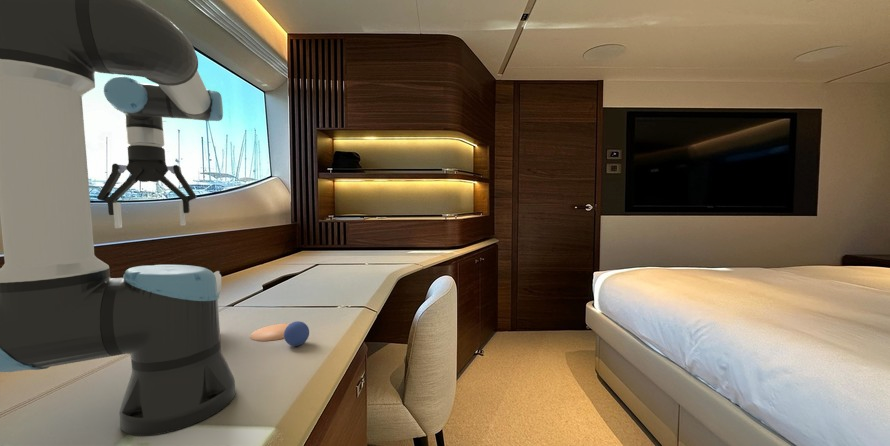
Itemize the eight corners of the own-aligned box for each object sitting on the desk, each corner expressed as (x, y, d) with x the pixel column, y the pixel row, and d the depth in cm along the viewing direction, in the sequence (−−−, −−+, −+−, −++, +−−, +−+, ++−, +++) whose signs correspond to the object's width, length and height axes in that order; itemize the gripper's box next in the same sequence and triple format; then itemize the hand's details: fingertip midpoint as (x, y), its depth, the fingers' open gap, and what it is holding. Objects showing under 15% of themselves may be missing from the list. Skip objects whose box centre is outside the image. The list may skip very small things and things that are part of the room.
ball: (311, 346, 82) (310, 323, 81) (285, 351, 79) (283, 327, 79) (308, 338, 86) (307, 316, 86) (283, 343, 84) (282, 320, 84)
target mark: (303, 335, 89) (303, 334, 89) (249, 344, 84) (249, 343, 84) (299, 321, 100) (299, 320, 100) (251, 329, 94) (251, 328, 94)
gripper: (205, 150, 102) (209, 223, 103) (88, 146, 91) (95, 228, 92) (201, 146, 95) (205, 224, 96) (75, 141, 84) (82, 230, 85)
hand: (152, 226), depth 94 cm, fingers open, 13 cm apart
